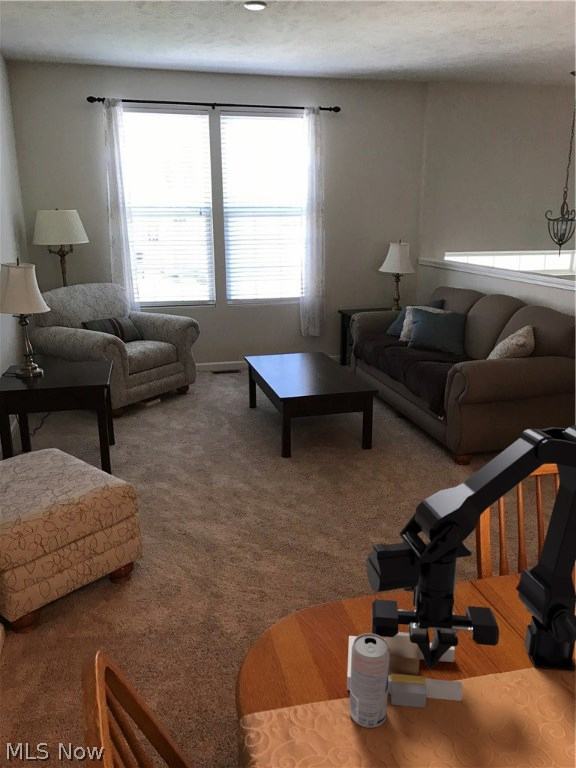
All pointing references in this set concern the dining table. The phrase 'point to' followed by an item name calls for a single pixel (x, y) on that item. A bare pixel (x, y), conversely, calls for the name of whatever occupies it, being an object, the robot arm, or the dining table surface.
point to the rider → (403, 656)
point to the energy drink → (369, 680)
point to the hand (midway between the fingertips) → (429, 667)
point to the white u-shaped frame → (416, 683)
